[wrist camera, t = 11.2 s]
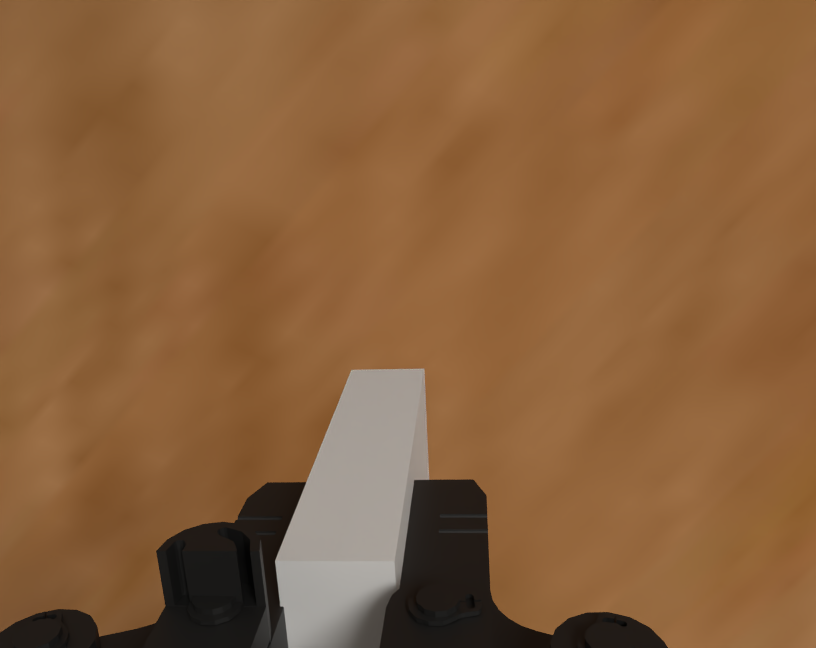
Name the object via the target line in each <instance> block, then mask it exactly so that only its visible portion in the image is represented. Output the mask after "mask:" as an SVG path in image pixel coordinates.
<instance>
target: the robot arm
mask: <svg viewBox="0 0 816 648" xmlns="http://www.w3.org/2000/svg"><path fill="white" fill-rule="evenodd" d="M156 552H157V558H158V564H159V570H160V576H161V582H162V588H163V593H164V599H165V605H166V606H165V608H164V610H163V612H162V613H161V615H160V617H159V619H158V621H157V622H156V623H155V624H152V625H149V626H145V627H142V628H138V629H134V630H129V631H124V632H120V633H115V634H110V635H105V636H101V637H99V633H98V628H97V625H96V624H95V622H94V620H93V619H92V617H91V616H90V615H88V614H85V613H83V612H81V611H78V610H64V609H57V610H53V611H48V612H42V613H38V614H35V615H33V616H30V617H28V618H25V619H23V620H20V621H18V622H16V623H14V624H13V625H11V626H10V627H8V628H7V629H5V630H4V631H2V632H1V633H0V648H668V647H667V646H666V644H665V643H664V641H663V640H662V639H661V638H660V637H659V636H658V635H657V634H656V633H655V632H654V631H653V630H652V629H651V628H650V627H648V626H646V625H644V624H642V623H640V622H638V621H636V620H634V619H632V618H630V617H626V616H622V615H618V614H614V613H609V612H596V613H584V614H581V615H578V616H575V617H571V618H568V619H567V620H566V621H565V622H564V623H562V624H561V625H560V626H559V627H557V628H556V629H555V632H554V634H553V635H550V634H546V633H542V632H538V631H535V630H532V629H529V628H526V627H523V626H521V625H519V624H517V623H515V622H514V621H512V620H510V619H508V618H507V617H506V616H505V615H504V614H503V613H502V612H501V611H499V610H498V608H497V606H496V605H495V603H494V602H493V600H492V596H491V592H490V575H489V550H488V525H487V499H486V495H485V493H484V492H483V491H482V490H481V488H480V487H479V486H478V485H477V484H476V482H475V481H474V480H429V467H428V444H427V421H426V397H425V374H424V369H381V370H351V372H350V375H349V377H348V380H347V382H346V385H345V387H344V390H343V392H342V395H341V397H340V400H339V402H338V405H337V407H336V410H335V412H334V415H333V417H332V420H331V422H330V425H329V427H328V430H327V432H326V435H325V437H324V440H323V442H322V445H321V447H320V450H319V452H318V455H317V457H316V460H315V462H314V465H313V467H312V470H311V472H310V475H309V477H308V480H307V482H293V483H266V484H265V485H264V486H263V487H261V488H260V489H259V490H257V491H256V492H255V493H254V494H252V495H251V496H250V497H248V498H247V500H246V502H245V504H244V506H243V508H242V510H241V512H240V513H239V515H238V520H236V521H235V523H228V522H218V523H209V524H202V525H199V526H196V527H193V528H189V529H186V530H184V531H182V532H180V533H178V534H176V535H175V536H173V537H171V538H169V539H168V540H167V541H166V542H165V543H164V544H163V545H162V546H161V547H160V548H159V549H158V550H157V551H156Z"/></svg>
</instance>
